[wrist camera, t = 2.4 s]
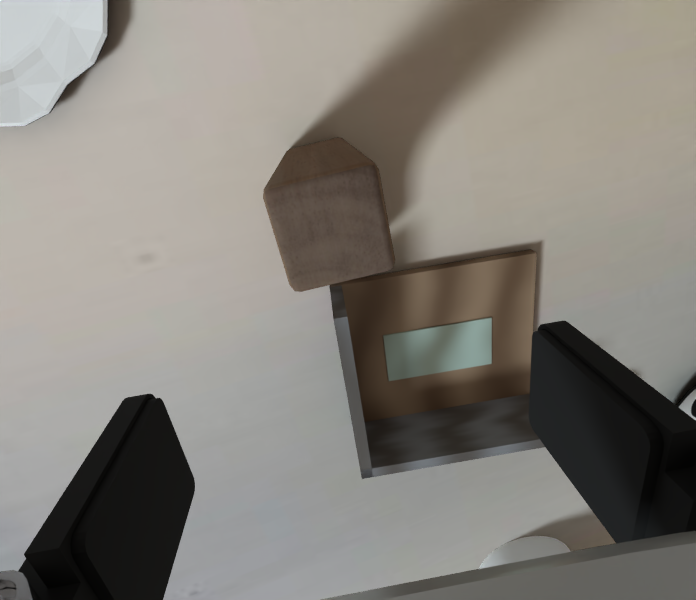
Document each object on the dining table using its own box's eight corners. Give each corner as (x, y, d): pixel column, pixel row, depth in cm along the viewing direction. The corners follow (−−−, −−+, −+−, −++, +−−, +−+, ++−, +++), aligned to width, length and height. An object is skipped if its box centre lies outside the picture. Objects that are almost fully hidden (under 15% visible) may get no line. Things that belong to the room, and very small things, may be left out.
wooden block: (365, 247, 35) (414, 362, 19) (314, 259, 35) (318, 385, 19) (342, 135, 32) (378, 159, 15) (284, 149, 32) (258, 188, 15)
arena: (531, 249, 37) (577, 278, 30) (524, 395, 43) (561, 443, 37) (329, 282, 36) (333, 319, 30) (354, 424, 43) (361, 478, 37)
